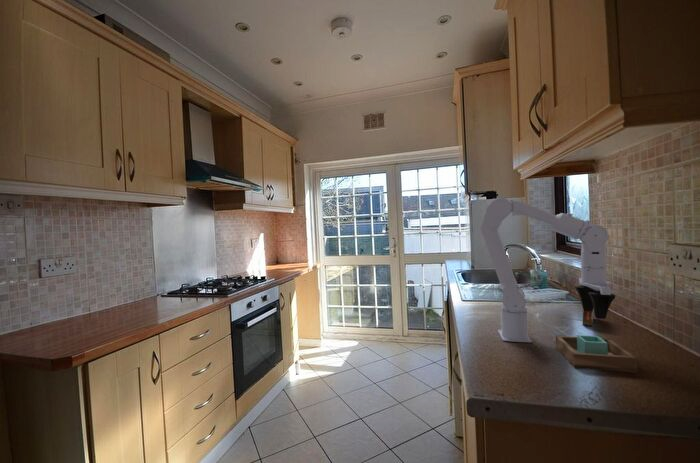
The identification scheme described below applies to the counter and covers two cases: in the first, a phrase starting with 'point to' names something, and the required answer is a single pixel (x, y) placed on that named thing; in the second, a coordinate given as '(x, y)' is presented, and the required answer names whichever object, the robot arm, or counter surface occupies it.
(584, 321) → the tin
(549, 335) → the counter surface
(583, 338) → the small crate
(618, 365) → the big crate
